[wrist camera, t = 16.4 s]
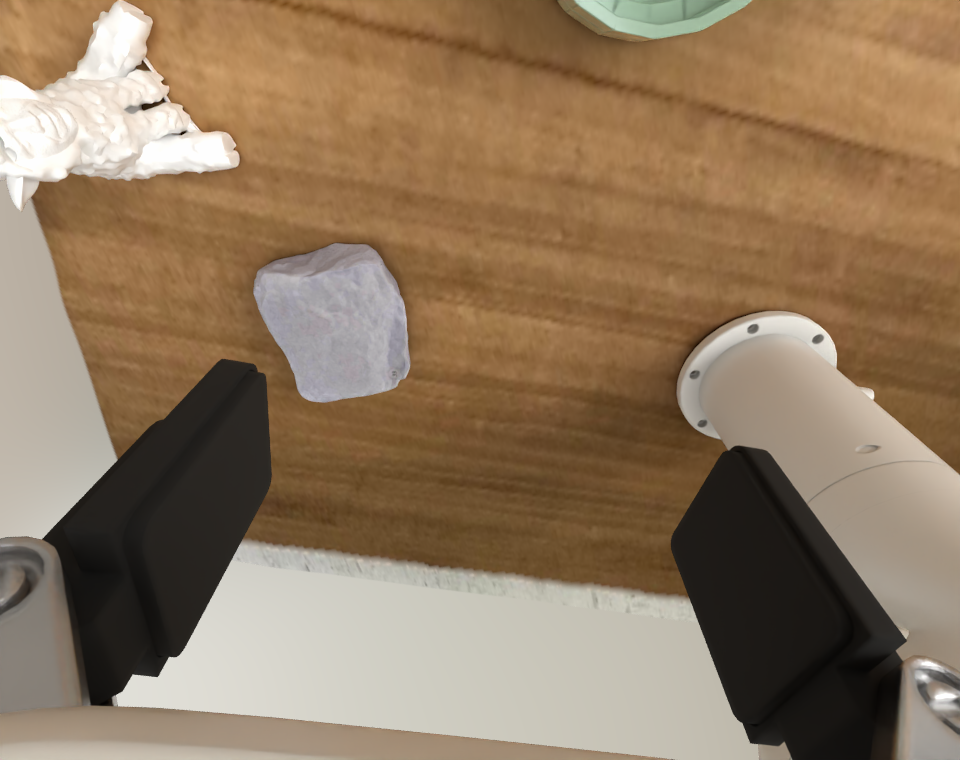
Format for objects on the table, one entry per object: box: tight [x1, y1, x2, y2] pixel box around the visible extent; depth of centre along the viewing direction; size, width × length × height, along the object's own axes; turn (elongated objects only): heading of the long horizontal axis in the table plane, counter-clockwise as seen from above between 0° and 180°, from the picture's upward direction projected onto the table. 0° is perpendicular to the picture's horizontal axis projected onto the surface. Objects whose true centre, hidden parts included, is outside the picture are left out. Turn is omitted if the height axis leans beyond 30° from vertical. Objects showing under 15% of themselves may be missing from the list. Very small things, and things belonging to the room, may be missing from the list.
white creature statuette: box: [0, 0, 240, 212], centre depth 26 cm, size 10×9×12 cm
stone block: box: [253, 243, 410, 402], centre depth 37 cm, size 12×5×10 cm
